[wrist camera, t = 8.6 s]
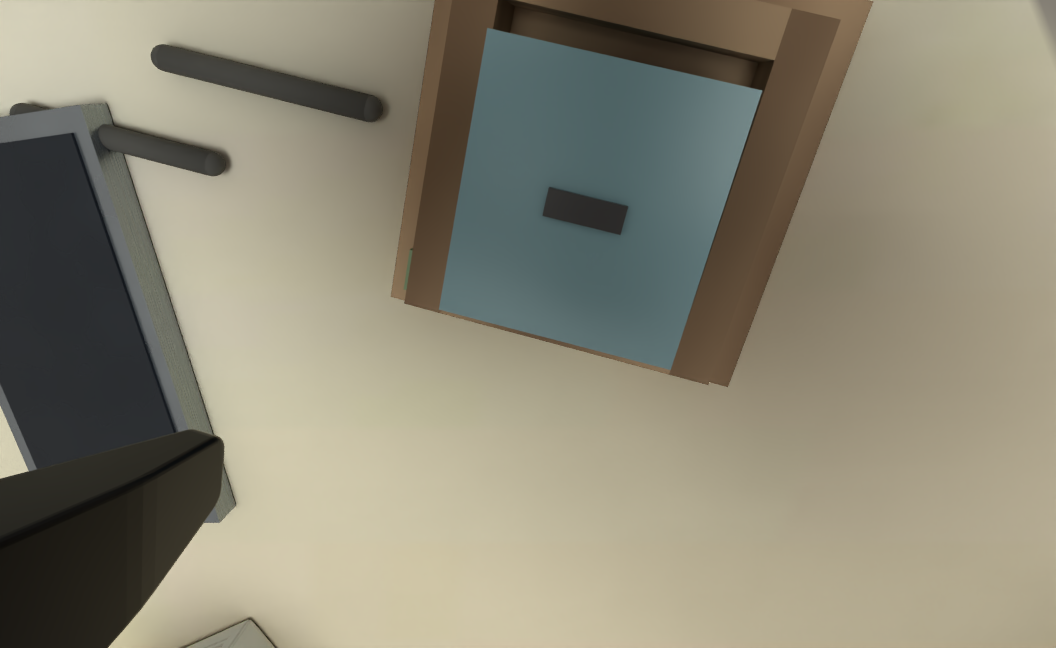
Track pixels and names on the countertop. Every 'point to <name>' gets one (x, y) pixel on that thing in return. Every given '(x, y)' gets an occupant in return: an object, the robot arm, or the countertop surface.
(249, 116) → the countertop surface
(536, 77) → the blue drawer box
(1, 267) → the phone
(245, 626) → the skincare box
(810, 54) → the dock
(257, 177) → the countertop surface
